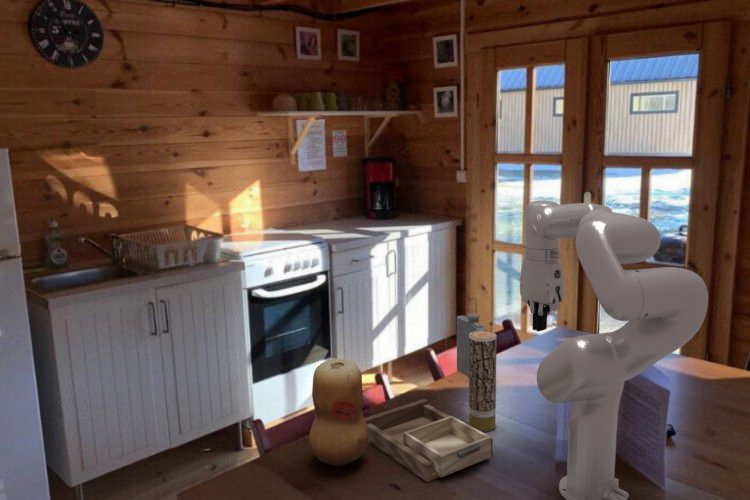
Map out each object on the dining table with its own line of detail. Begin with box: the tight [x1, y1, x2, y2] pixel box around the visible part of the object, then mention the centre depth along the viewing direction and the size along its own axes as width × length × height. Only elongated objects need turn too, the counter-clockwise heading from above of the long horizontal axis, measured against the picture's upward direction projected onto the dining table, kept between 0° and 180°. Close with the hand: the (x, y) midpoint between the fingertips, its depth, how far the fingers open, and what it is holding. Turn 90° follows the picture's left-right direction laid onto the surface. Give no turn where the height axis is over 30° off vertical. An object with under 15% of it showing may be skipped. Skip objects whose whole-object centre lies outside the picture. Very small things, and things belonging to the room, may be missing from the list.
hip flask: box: [456, 313, 488, 378], centre depth 202 cm, size 16×4×20 cm, turn 20°
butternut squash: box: [308, 357, 370, 467], centre depth 153 cm, size 14×13×25 cm
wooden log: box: [468, 330, 498, 433], centre depth 168 cm, size 7×7×25 cm
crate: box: [403, 415, 492, 478], centre depth 154 cm, size 15×15×5 cm
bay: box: [364, 398, 494, 483], centre depth 161 cm, size 26×20×5 cm
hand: (539, 329), depth 156 cm, fingers closed
